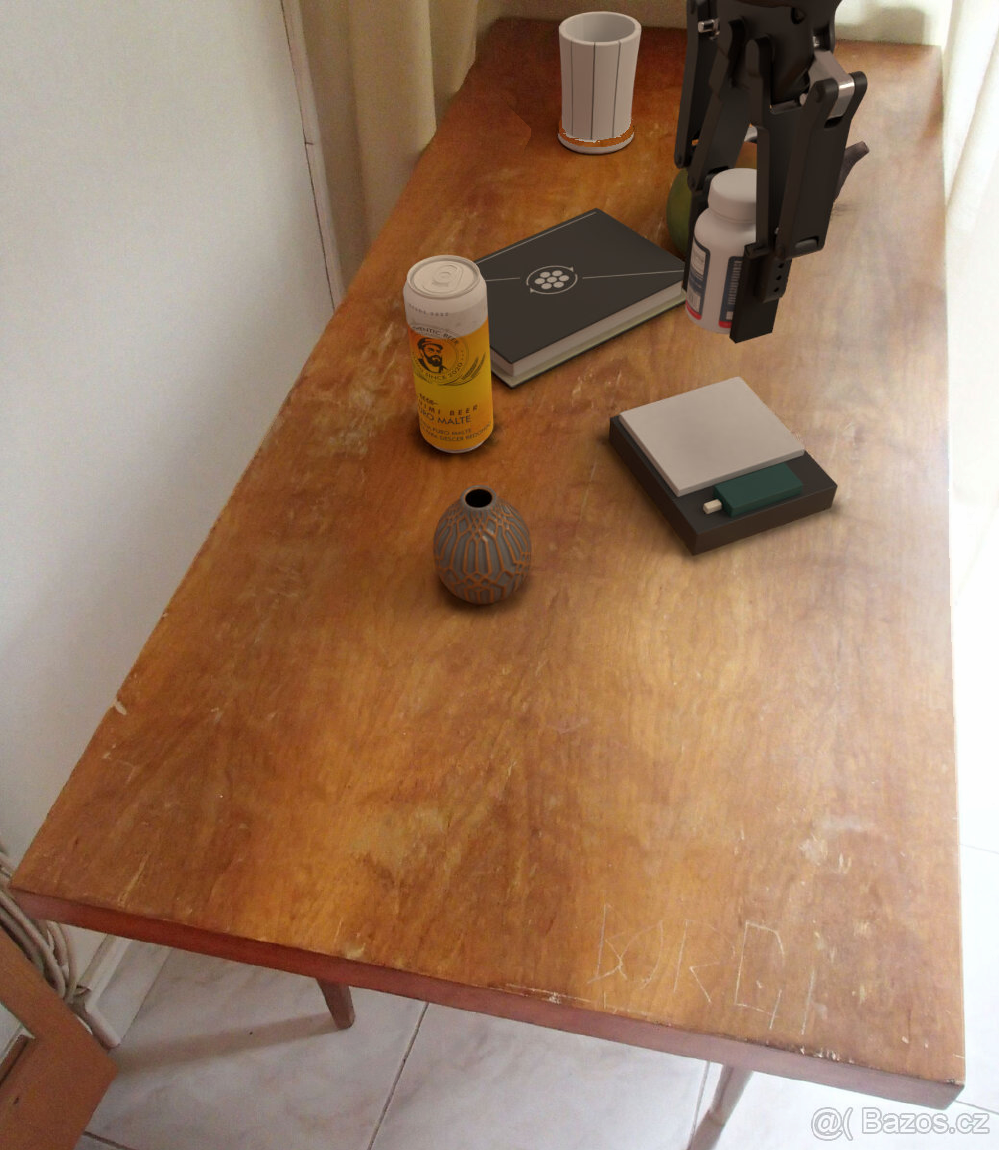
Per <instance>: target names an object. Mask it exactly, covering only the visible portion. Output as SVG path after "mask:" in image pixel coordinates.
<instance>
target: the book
mask: <svg viewBox="0 0 999 1150" xmlns="http://www.w3.org/2000/svg"><path fill="white" fill-rule="evenodd" d="M471 261H472V262H473V263H475V264H476V265H477V267H478V268H479V270H480V274H481V276H482V277H483V279H484V280H485V283H486V290H487V309H488V328H489V347H490V366H491V373H492V374H493V375H495V377H497V378H499V380H501V381H502V382H503V383H505V384H506V386H507V387H509V388H510V389H515V388H517V387H519V386H521V385H523V384H525V383H527V382H529V381H531V380H533V379H535V378H537V377H539V376H541V375H543V374H545V373H546V372H550V371H551V370H553V369H555V368H557V367H559V366H561V365H563V364H565V363H568V362H570V361H571V360H573V359H575V358H577V357H579V356H581V355H584V354H585V353H587V352H589V351H591V350H594V349H595V348H597V347H599V346H601V345H603V344H604V343H606V342H610V341H611V340H613V339H615V338H617V337H619V336H621V335H623V334H625V333H626V332H629V331H630V330H633V329H634V328H637V327H639V326H641V325H644V323H647V322H649V321H651V320H653V319H655V318H657V317H658V316H659V317H660V315H663V314H665V313H667V312H668V311H671V310H673V309H674V308H677V307H678V306H681V305H682V304H684V303H685V304H686V296H687V293H686V292H685V290H684V289H683V288H682V283H683V275H684V267H685V261H683V260H682V259H680V258H678V257H677V256H675V255H674V254H672V253H671V252H669V251H667V250H666V249H664V248H662V247H661V246H660V245H658V244H657V243H655V242H653V241H652V240H650V239H648V238H646V237H645V236H644V235H642V234H640V233H638V232H637V231H635V230H634V229H632V228H631V227H629V226H627V225H626V224H624V223H623V222H621V221H619V220H618V219H616V218H615V217H613V216H612V215H610V214H608V213H606V211H603V210H602V209H600V208H599V207H594V208H592V209H589V210H587V211H585V212H583V213H581V214H578V215H575V216H573V217H571V218H569V219H567V220H564V221H562V222H560V223H557V224H555V225H553V226H551V227H548V228H546V229H544V230H541V231H539V232H537V233H535V234H534V233H533V235H530V236H527V237H525V238H523V239H521V240H518V241H516V242H513V243H511V244H509V245H507V246H505V247H503V248H500V249H497V250H496V251H493V252H491V253H488V254H486V255H483V256H481V257H480V258H479V257H478V258H477V259H475V260H471Z"/></svg>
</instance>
